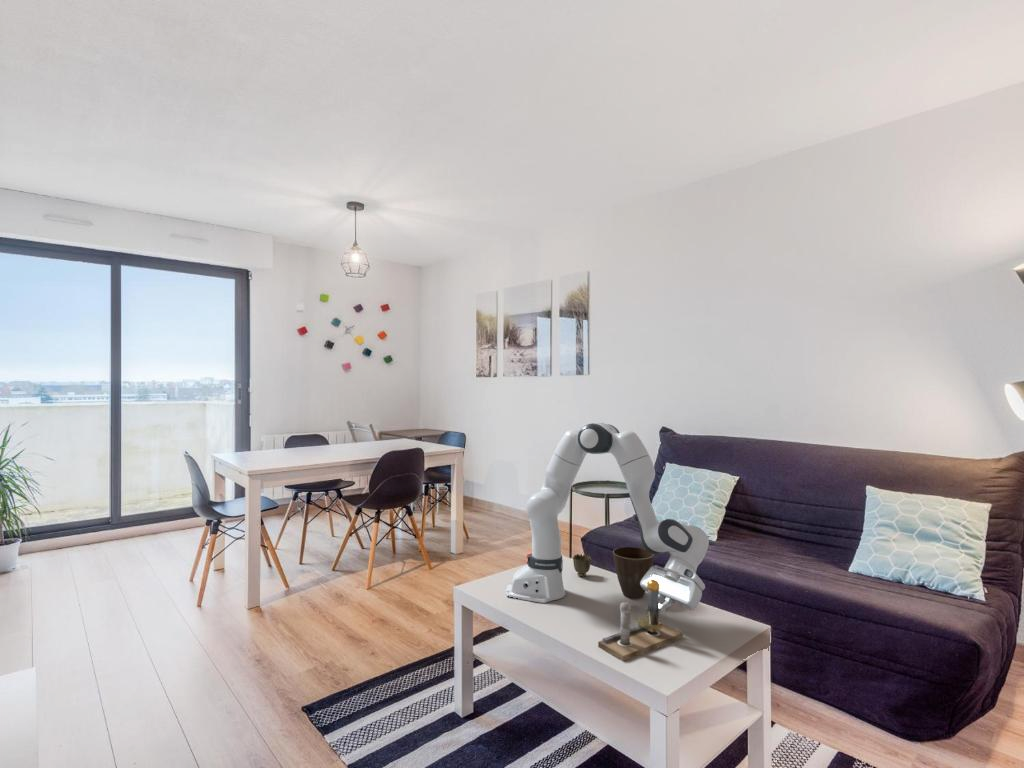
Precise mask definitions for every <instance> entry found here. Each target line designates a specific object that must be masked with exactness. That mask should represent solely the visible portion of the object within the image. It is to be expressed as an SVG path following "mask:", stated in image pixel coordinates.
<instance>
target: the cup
mask: <svg viewBox="0 0 1024 768" xmlns="http://www.w3.org/2000/svg"><path fill="white" fill-rule="evenodd" d="M572 561H573V562H572V563H573V568H574V570H575V572H576V574H577V576H578V577H579V576H582V577H581V578H584V577H583V576H585V577H586V576H587V573H588V572H589V571H590V568H591V561H592V557H591V556H590V555H587V554H582V553H581V554H579V553H577V554H574V555H573V556H572Z"/></svg>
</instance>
